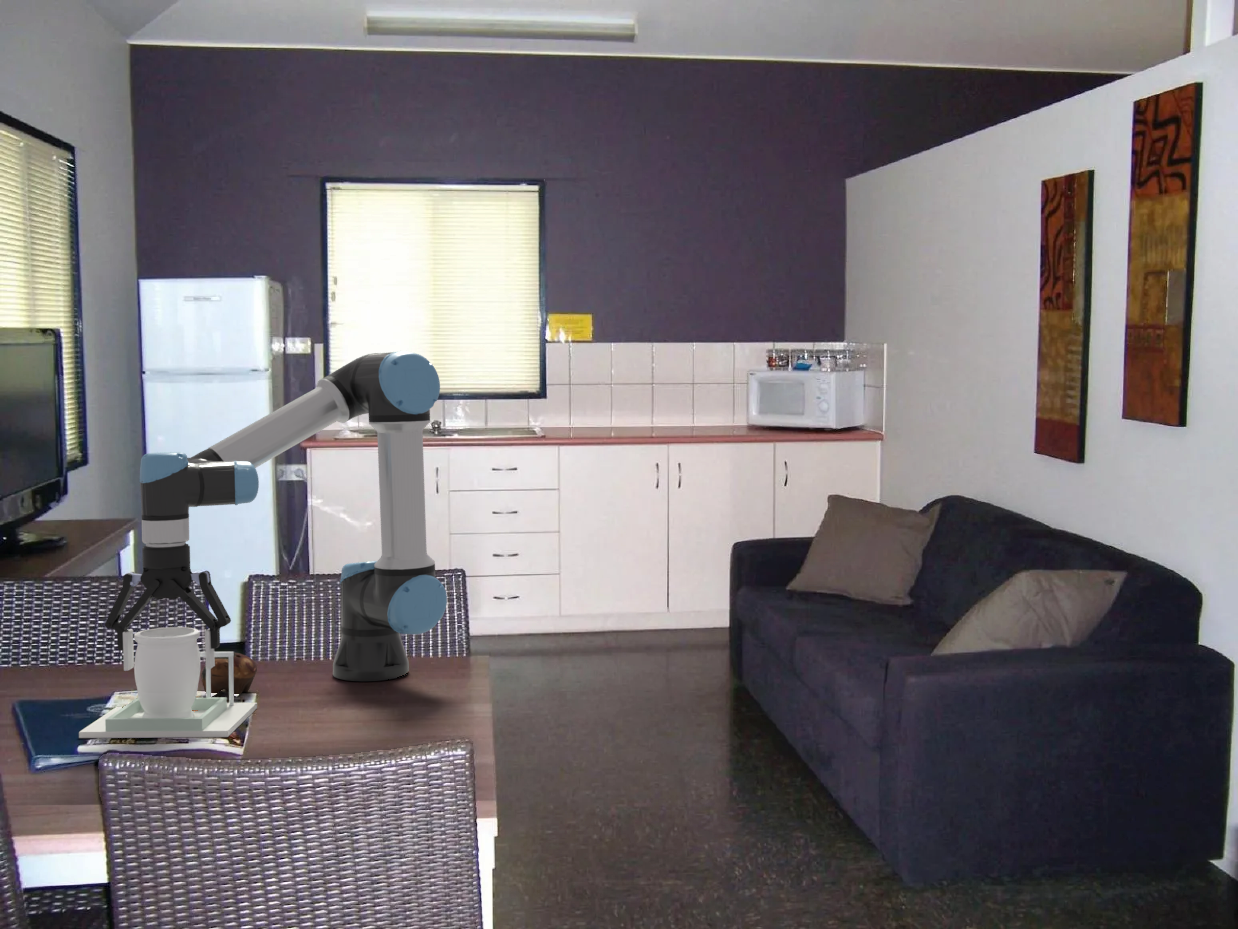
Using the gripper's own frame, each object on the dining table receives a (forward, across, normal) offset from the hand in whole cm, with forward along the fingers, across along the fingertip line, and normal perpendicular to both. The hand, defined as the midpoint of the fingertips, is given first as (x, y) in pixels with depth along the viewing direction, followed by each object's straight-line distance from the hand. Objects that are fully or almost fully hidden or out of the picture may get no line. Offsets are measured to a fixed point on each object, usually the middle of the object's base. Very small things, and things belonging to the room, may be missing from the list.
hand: (169, 668), depth 206 cm
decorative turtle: (+10, -4, -23) cm, 25 cm away
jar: (+9, 0, 0) cm, 9 cm away
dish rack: (+10, 0, -2) cm, 10 cm away
